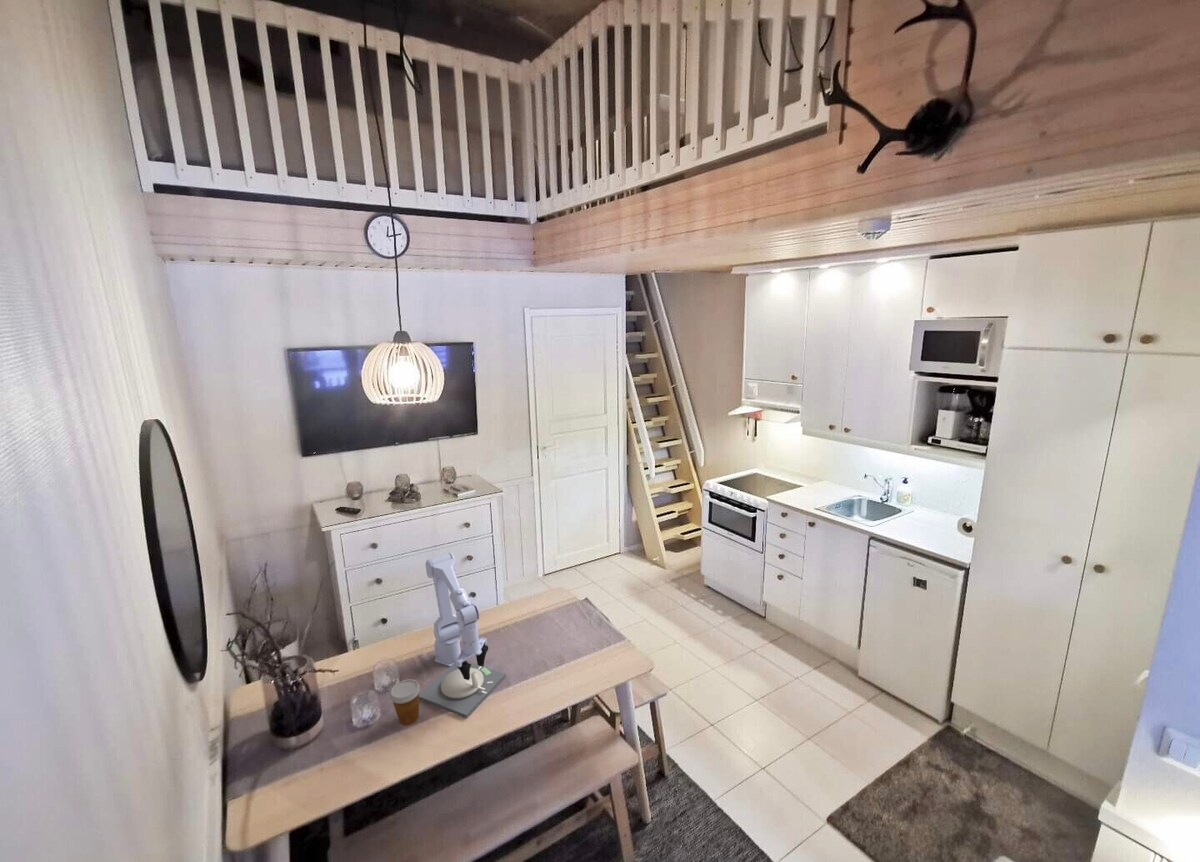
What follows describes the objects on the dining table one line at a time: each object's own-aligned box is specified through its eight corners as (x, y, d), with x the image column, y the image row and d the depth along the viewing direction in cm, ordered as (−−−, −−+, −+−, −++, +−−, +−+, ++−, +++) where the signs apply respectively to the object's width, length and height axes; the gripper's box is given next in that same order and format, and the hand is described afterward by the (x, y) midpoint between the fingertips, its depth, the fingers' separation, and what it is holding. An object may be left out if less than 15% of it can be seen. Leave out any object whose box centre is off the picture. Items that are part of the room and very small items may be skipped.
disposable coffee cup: (396, 734, 173) (391, 702, 170) (392, 714, 181) (387, 684, 179) (426, 722, 177) (422, 691, 175) (421, 704, 186) (417, 674, 183)
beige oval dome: (431, 691, 189) (430, 676, 188) (460, 665, 202) (458, 651, 201) (471, 706, 181) (469, 691, 180) (498, 678, 194) (496, 664, 193)
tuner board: (417, 699, 188) (417, 695, 188) (459, 661, 207) (459, 657, 207) (466, 718, 178) (466, 714, 178) (506, 677, 197) (505, 673, 197)
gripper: (465, 653, 177) (469, 688, 180) (492, 629, 189) (495, 662, 193) (448, 648, 180) (453, 682, 183) (476, 624, 192) (480, 657, 196)
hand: (473, 672), depth 188 cm, fingers open, 7 cm apart
